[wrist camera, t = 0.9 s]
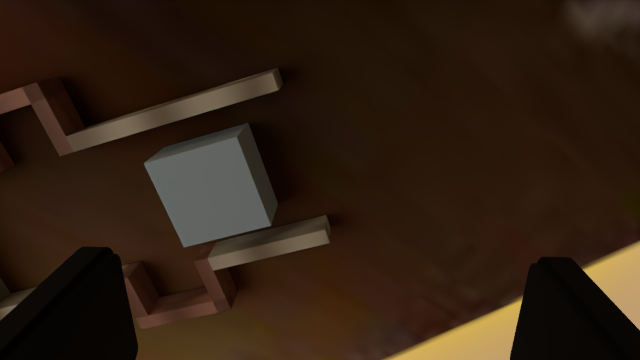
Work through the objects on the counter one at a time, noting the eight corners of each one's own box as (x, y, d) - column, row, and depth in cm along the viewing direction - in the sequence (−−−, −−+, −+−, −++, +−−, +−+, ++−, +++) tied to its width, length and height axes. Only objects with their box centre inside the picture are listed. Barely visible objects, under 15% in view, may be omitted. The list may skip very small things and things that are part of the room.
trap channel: (258, 9, 29) (246, 10, 25) (343, 267, 36) (343, 296, 32) (-113, 134, 34) (-170, 149, 30) (29, 338, 41) (-2, 371, 37)
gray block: (248, 122, 32) (236, 136, 28) (278, 202, 34) (270, 225, 31) (165, 146, 33) (143, 163, 29) (200, 222, 36) (183, 247, 32)
